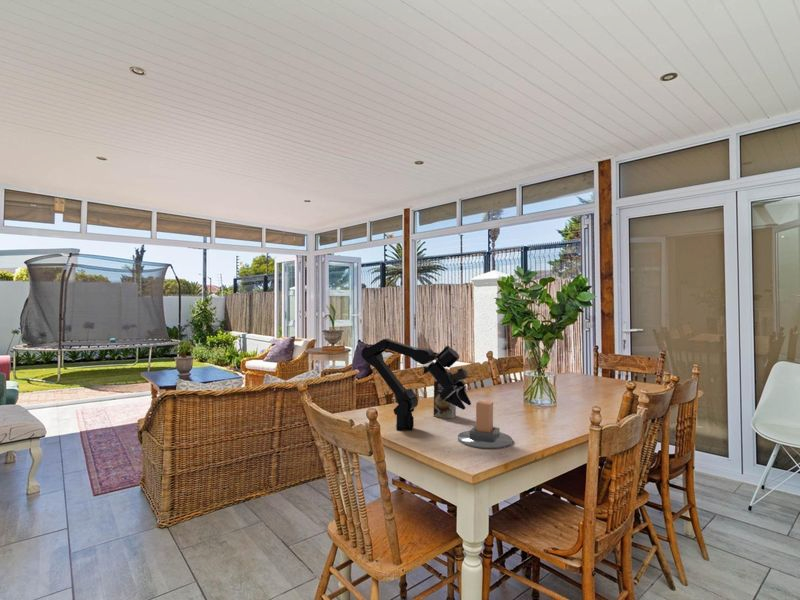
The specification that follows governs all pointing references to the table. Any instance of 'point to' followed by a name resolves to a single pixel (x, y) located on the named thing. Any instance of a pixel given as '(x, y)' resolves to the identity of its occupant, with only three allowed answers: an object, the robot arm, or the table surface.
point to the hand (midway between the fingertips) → (467, 406)
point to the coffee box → (442, 404)
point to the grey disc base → (485, 439)
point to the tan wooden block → (484, 416)
